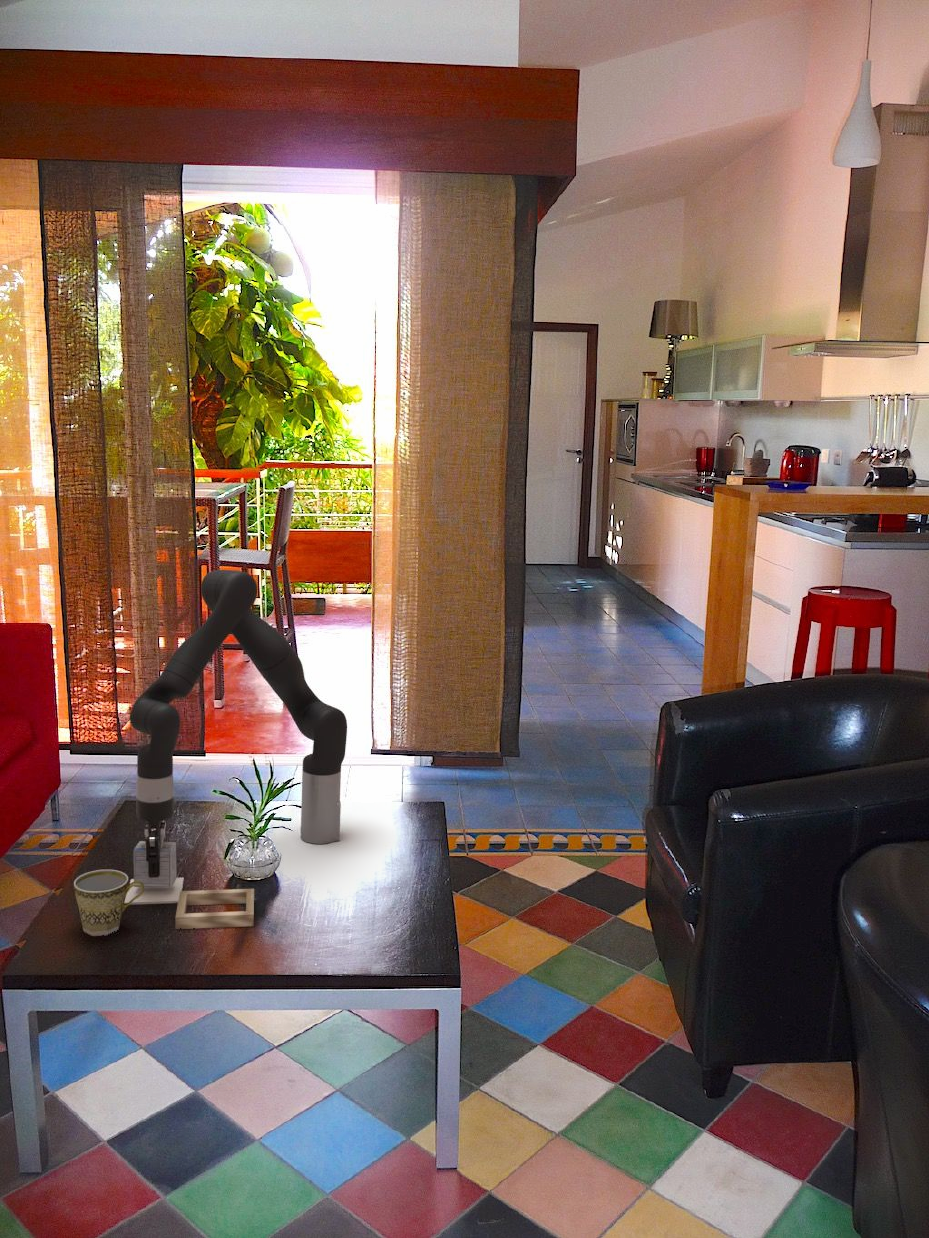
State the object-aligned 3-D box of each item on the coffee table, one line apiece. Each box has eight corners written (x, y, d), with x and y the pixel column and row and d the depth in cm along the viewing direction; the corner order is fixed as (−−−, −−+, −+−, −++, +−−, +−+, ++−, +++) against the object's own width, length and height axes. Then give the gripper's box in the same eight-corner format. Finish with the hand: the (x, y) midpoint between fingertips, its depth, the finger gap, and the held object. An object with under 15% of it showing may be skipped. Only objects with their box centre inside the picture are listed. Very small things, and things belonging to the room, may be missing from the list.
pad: (183, 879, 220) (183, 877, 220) (179, 902, 210) (179, 900, 210) (130, 881, 218) (130, 879, 218) (124, 904, 208) (124, 902, 208)
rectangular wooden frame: (253, 899, 213) (254, 888, 213) (253, 926, 202) (253, 914, 202) (179, 902, 210) (180, 891, 210) (175, 929, 199) (175, 917, 199)
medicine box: (176, 879, 216) (176, 841, 215) (171, 889, 212) (171, 850, 210) (139, 878, 216) (139, 840, 214) (133, 887, 211) (133, 848, 210)
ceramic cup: (70, 941, 192) (69, 892, 190) (79, 916, 202) (78, 869, 200) (141, 938, 195) (141, 890, 193) (147, 914, 204) (147, 867, 202)
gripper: (171, 806, 204) (171, 885, 207) (176, 782, 218) (176, 856, 221) (132, 807, 202) (132, 887, 206) (140, 782, 216) (140, 857, 219)
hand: (155, 870), depth 213 cm, fingers closed on medicine box, 5 cm apart
